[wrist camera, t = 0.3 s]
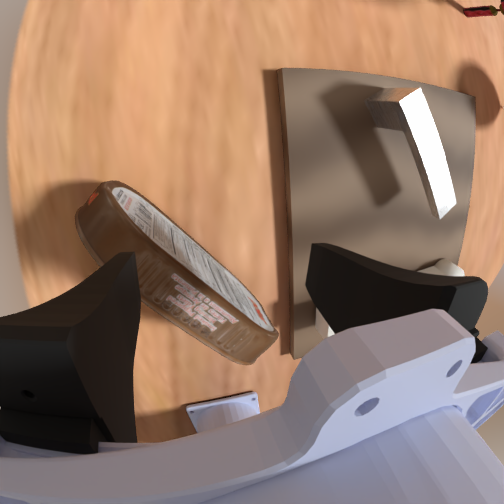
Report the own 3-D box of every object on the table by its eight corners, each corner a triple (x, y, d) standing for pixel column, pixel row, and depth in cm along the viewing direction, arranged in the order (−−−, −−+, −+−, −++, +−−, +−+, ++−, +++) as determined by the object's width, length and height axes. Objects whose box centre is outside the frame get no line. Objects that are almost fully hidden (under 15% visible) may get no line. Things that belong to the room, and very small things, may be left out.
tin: (92, 195, 18) (48, 243, 11) (121, 161, 18) (87, 189, 10) (235, 314, 25) (263, 388, 18) (263, 290, 25) (300, 359, 18)
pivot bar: (452, 255, 28) (467, 265, 26) (445, 285, 30) (459, 295, 28) (316, 296, 25) (329, 313, 23) (315, 331, 27) (326, 348, 24)
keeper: (424, 189, 24) (456, 203, 20) (408, 203, 24) (440, 219, 20) (384, 88, 19) (420, 87, 15) (363, 100, 19) (399, 101, 15)
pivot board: (442, 298, 33) (470, 322, 28) (290, 353, 29) (311, 394, 24) (468, 96, 22) (509, 102, 17) (277, 70, 18) (313, 55, 13)
